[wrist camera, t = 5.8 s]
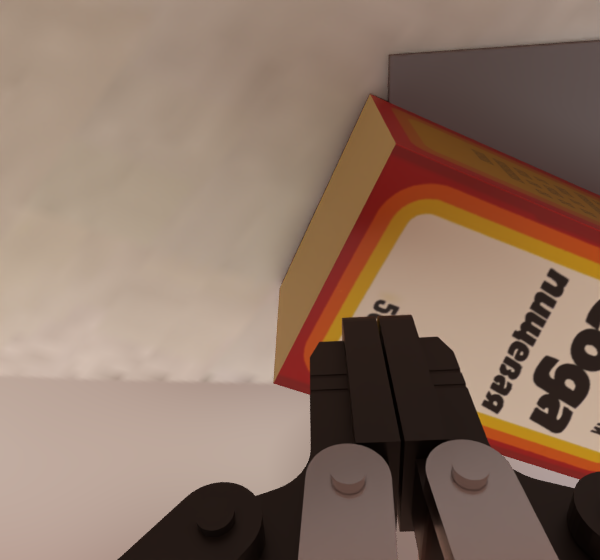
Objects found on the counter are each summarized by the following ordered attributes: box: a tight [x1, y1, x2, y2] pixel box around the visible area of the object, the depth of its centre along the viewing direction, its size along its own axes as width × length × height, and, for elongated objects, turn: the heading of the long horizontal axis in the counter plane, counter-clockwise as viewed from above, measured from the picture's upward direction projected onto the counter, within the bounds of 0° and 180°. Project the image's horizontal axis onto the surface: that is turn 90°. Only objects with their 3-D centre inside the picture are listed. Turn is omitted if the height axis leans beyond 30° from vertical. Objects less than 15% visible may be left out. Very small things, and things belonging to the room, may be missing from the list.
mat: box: [388, 40, 600, 195], centre depth 23 cm, size 12×11×1 cm
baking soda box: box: [273, 94, 600, 479], centre depth 21 cm, size 10×6×16 cm
